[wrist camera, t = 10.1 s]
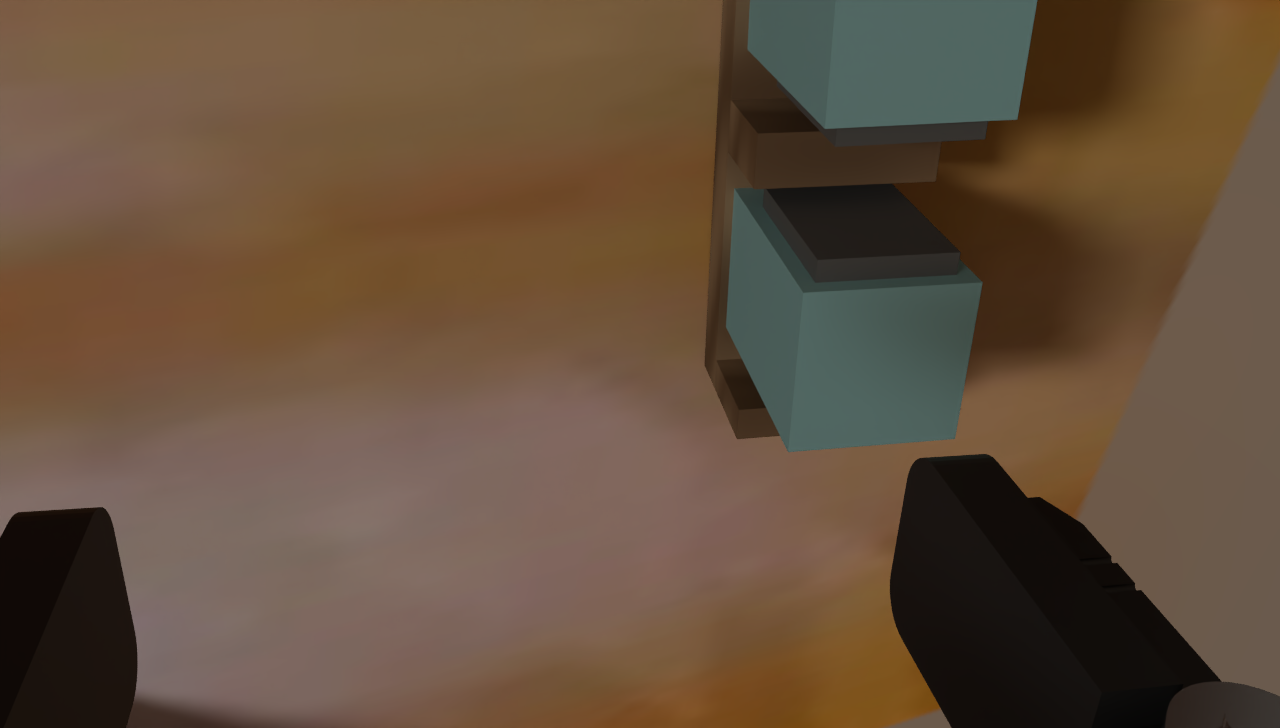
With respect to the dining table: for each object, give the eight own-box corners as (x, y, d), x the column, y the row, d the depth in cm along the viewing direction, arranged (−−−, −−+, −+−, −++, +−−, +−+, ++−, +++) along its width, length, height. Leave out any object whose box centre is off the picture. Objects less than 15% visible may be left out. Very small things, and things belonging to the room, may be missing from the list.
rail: (851, 355, 39) (899, 426, 35) (704, 364, 38) (736, 439, 34) (919, -214, 30) (993, -204, 26) (734, -216, 30) (780, -205, 26)
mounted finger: (866, 318, 36) (954, 438, 30) (725, 327, 36) (788, 451, 29) (885, 162, 34) (986, 259, 28) (735, 168, 33) (805, 269, 27)
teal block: (756, -130, 29) (843, -90, 23) (925, -133, 30) (1052, -94, 24) (746, 71, 32) (822, 155, 26) (902, 64, 32) (1013, 145, 26)
